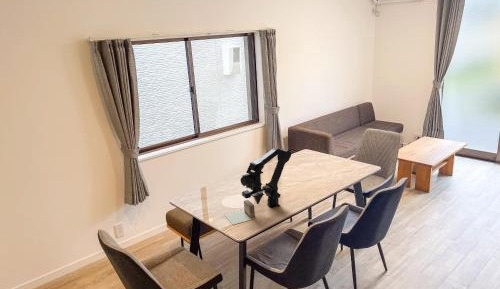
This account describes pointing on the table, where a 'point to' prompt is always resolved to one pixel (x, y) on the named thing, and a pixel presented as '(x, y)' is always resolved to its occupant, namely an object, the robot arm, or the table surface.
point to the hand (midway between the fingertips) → (257, 203)
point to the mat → (237, 217)
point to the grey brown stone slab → (249, 208)
